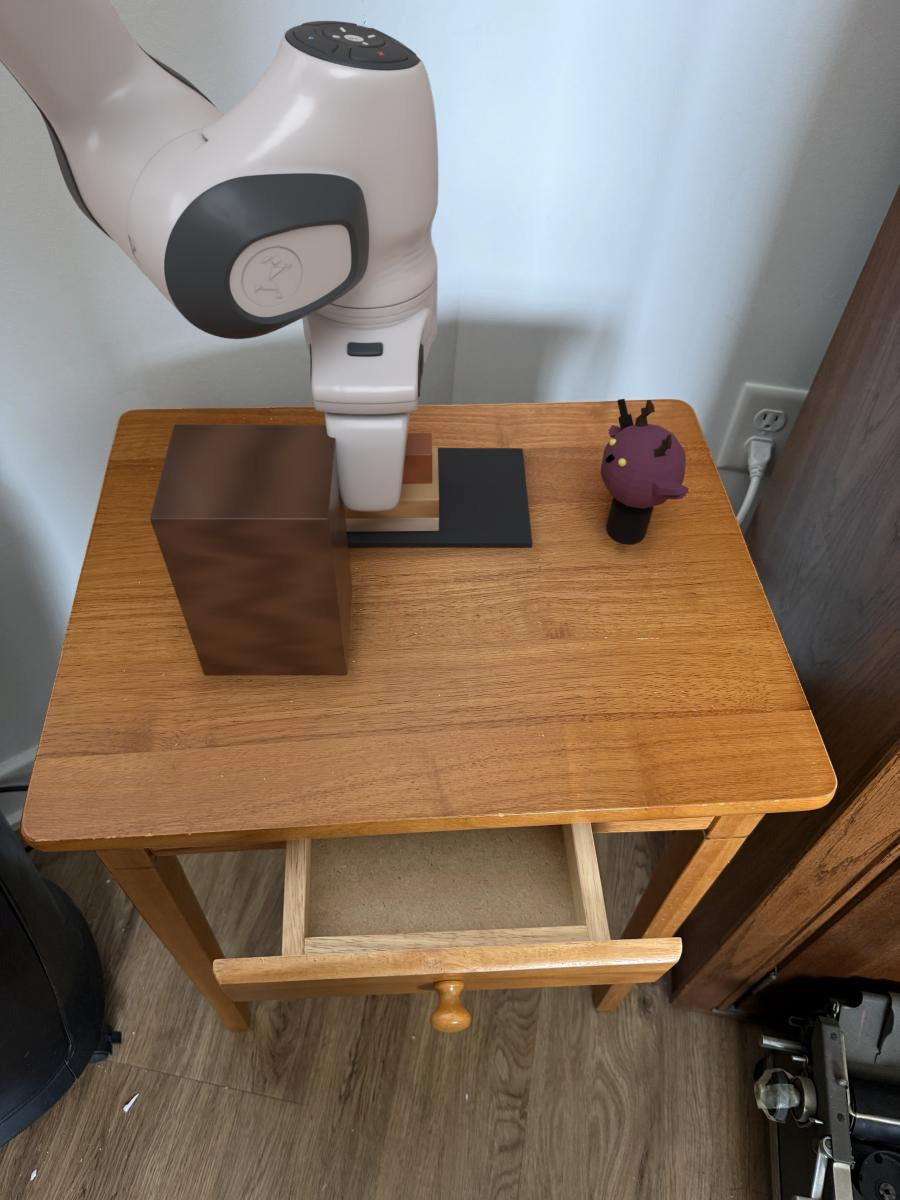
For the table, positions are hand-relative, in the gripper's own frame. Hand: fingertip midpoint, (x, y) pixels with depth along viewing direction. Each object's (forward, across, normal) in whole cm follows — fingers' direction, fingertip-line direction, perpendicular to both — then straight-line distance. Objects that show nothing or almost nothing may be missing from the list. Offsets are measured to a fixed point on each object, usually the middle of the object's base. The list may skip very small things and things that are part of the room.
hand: (378, 465), depth 69 cm
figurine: (+5, +2, +20) cm, 21 cm away
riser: (+5, +12, -7) cm, 15 cm away
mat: (+5, -2, +2) cm, 6 cm away
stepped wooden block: (+4, 0, 0) cm, 4 cm away
